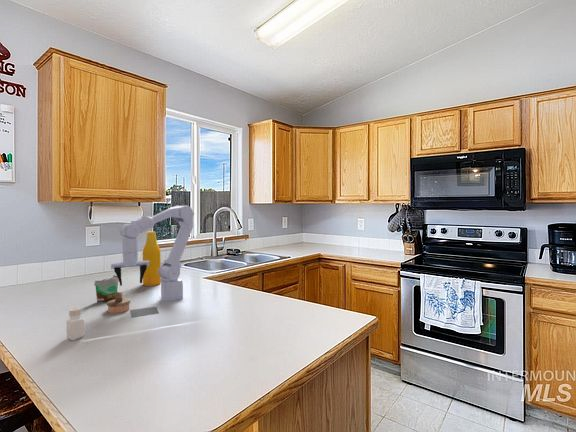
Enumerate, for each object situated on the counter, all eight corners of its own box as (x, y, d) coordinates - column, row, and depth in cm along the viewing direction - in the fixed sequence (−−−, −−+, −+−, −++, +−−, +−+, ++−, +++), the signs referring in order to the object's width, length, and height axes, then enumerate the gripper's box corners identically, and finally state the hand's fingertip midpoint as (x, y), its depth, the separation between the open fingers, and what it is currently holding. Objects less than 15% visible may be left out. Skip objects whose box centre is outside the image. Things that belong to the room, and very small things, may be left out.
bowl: (128, 307, 139) (128, 299, 139) (129, 312, 132) (129, 304, 132) (108, 309, 135) (108, 302, 135) (108, 315, 129) (108, 307, 129)
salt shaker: (72, 341, 104) (71, 312, 104) (65, 338, 106) (65, 309, 106) (85, 337, 107) (84, 308, 107) (79, 334, 109) (78, 306, 109)
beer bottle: (157, 281, 186) (156, 230, 185) (163, 284, 180) (162, 231, 179) (140, 283, 180) (139, 231, 179) (146, 287, 173) (145, 232, 172)
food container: (106, 304, 143) (106, 281, 143) (94, 303, 145) (94, 280, 144) (125, 296, 156) (125, 275, 155) (114, 295, 157) (114, 275, 156)
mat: (156, 307, 138) (156, 306, 138) (159, 314, 129) (159, 313, 129) (130, 311, 133) (130, 310, 133) (131, 319, 124) (131, 317, 124)
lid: (132, 299, 139) (132, 289, 139) (127, 305, 130) (127, 295, 130) (110, 301, 137) (110, 290, 137) (103, 307, 128) (103, 296, 128)
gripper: (147, 249, 145) (148, 279, 145) (110, 252, 138) (111, 284, 138) (149, 251, 138) (150, 283, 139) (110, 254, 132) (111, 287, 132)
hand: (131, 283), depth 138 cm, fingers open, 7 cm apart
